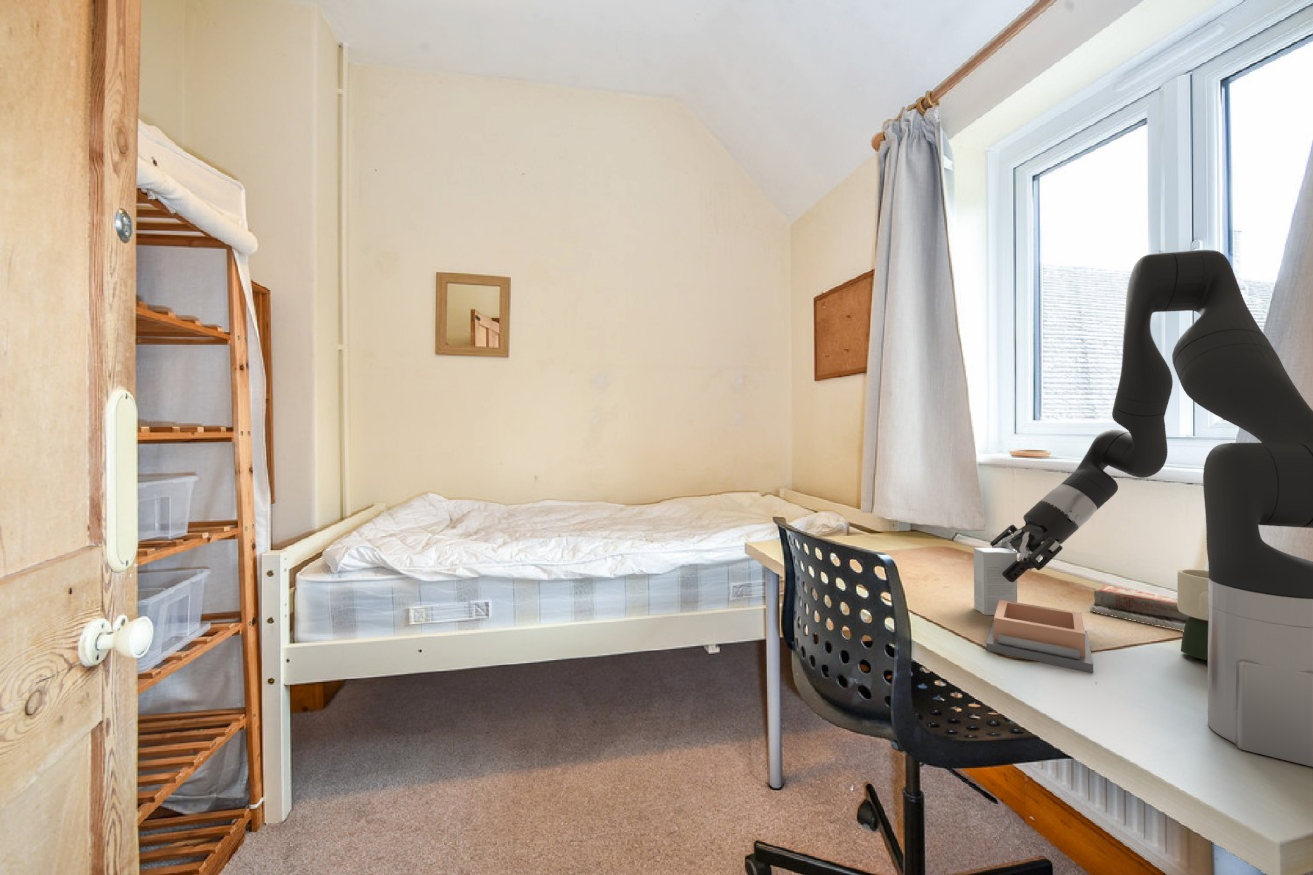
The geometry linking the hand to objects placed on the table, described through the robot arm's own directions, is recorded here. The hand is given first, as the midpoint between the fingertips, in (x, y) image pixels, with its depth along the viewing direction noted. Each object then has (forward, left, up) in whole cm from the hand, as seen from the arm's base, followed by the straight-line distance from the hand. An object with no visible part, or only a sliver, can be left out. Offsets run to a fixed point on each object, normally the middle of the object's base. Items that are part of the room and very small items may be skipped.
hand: (994, 572), depth 101 cm
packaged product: (+13, -24, -8) cm, 29 cm away
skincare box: (0, 0, -8) cm, 8 cm away
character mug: (-6, -28, -8) cm, 30 cm away
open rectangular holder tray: (-14, -7, -8) cm, 17 cm away
